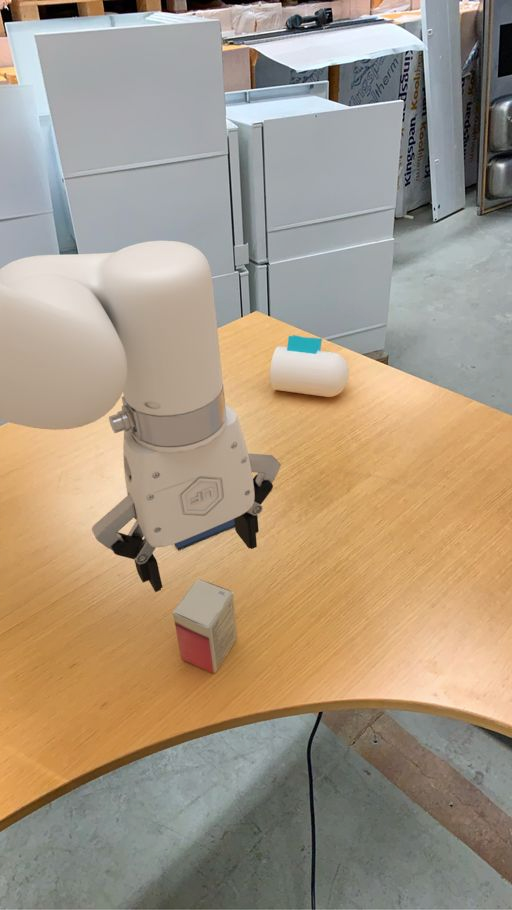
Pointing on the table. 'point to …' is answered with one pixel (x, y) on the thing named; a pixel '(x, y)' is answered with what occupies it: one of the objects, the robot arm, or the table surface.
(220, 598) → the small box
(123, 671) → the table surface
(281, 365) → the white rounded piece
